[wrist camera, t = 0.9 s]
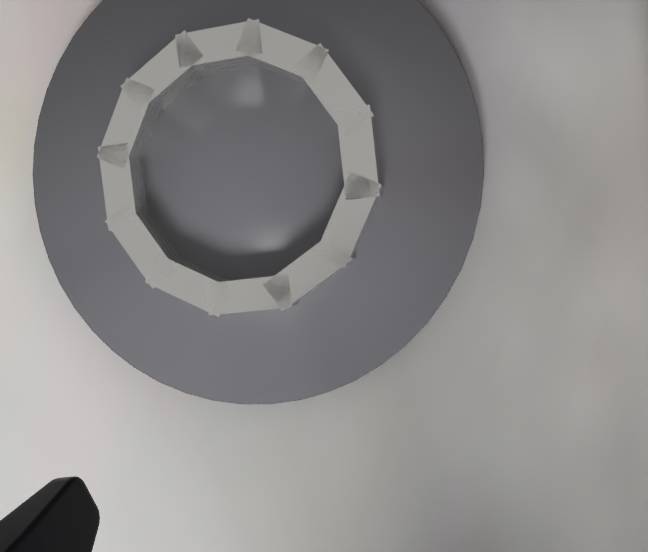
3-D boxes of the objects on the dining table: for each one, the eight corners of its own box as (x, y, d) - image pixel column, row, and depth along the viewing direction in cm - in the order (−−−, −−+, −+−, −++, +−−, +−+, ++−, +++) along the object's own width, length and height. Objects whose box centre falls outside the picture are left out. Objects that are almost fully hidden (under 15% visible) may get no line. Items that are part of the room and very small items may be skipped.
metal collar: (438, 200, 21) (439, 198, 20) (217, 363, 23) (206, 370, 22) (269, -25, 22) (261, -41, 20) (67, 150, 23) (48, 145, 22)
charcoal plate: (582, 221, 21) (588, 221, 20) (207, 481, 24) (200, 489, 23) (294, -157, 22) (289, -171, 21) (-31, 138, 25) (-46, 135, 24)
